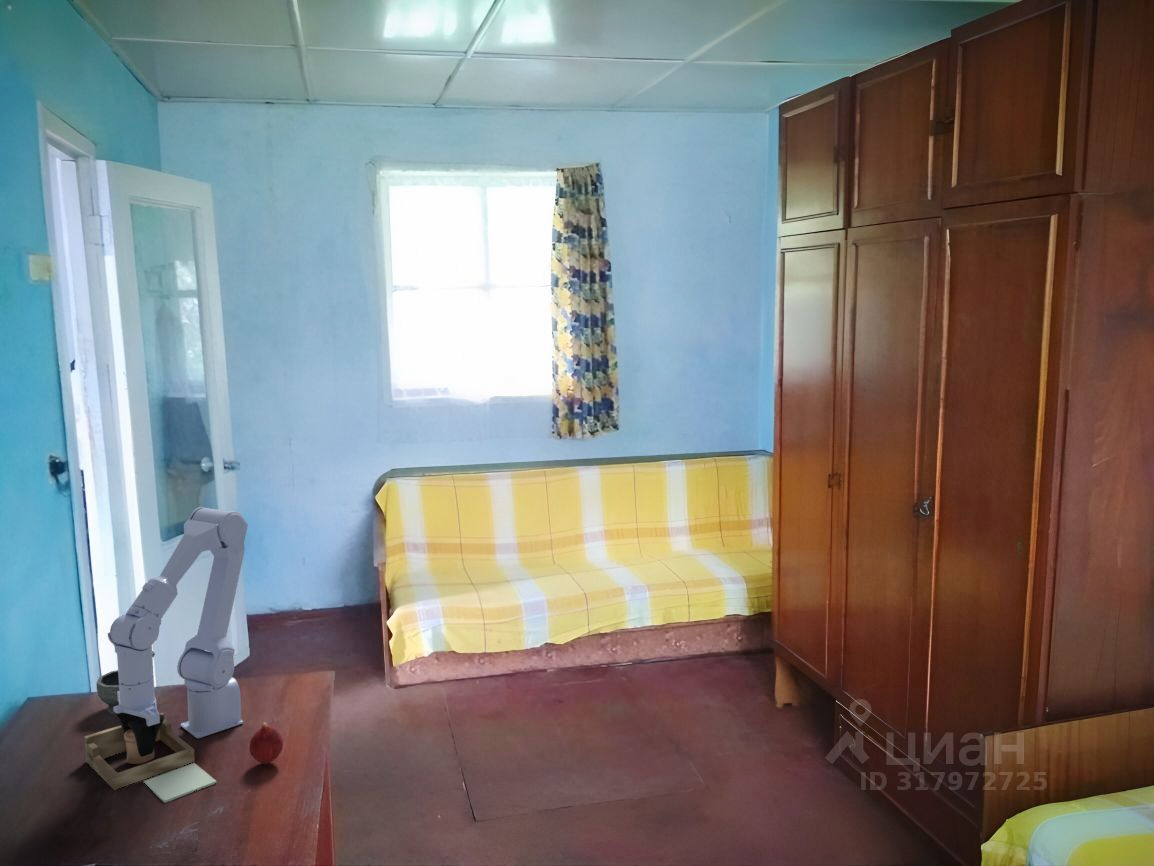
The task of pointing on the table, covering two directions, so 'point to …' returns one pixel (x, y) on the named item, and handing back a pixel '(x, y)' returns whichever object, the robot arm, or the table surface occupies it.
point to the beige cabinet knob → (134, 750)
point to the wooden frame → (114, 743)
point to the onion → (266, 744)
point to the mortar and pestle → (109, 688)
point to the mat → (179, 782)
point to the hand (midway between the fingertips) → (140, 749)
